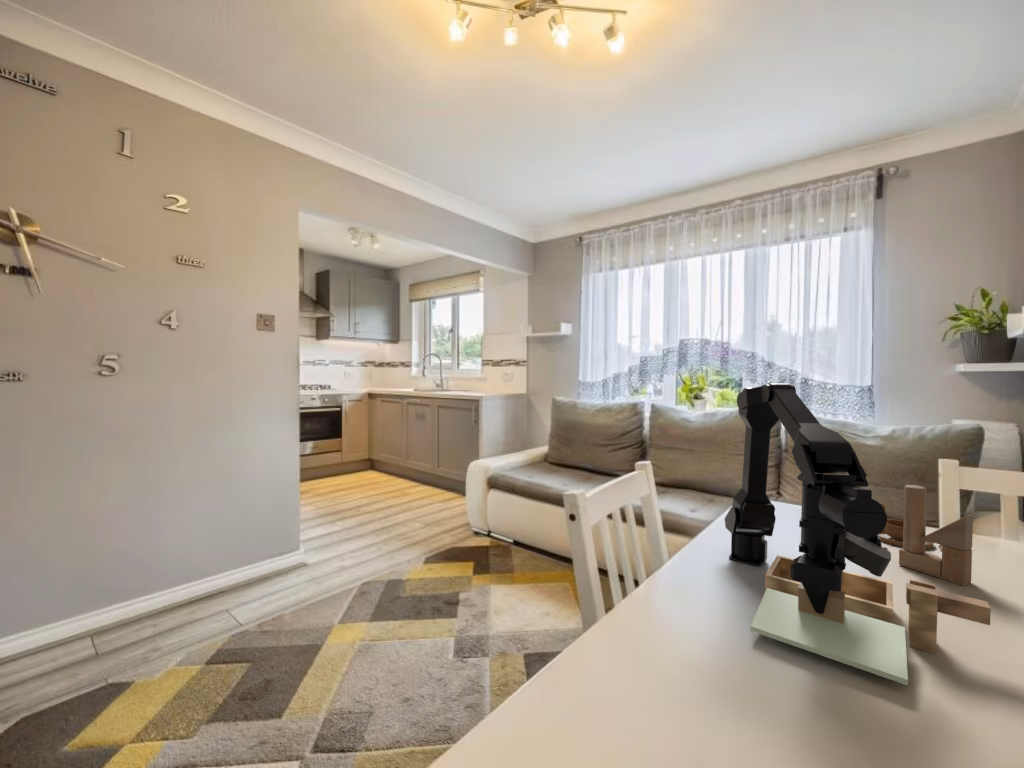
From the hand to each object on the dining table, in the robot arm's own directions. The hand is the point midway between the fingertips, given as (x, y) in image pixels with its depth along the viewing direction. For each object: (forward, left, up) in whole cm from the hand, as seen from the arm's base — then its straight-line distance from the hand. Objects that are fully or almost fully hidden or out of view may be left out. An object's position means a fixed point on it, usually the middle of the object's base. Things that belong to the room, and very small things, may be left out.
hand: (820, 609), depth 71 cm
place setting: (+12, +67, -5) cm, 68 cm away
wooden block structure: (+16, +42, -4) cm, 46 cm away
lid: (+1, -3, -2) cm, 4 cm away
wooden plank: (+15, +7, +2) cm, 17 cm away
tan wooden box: (+3, +11, -4) cm, 12 cm away
